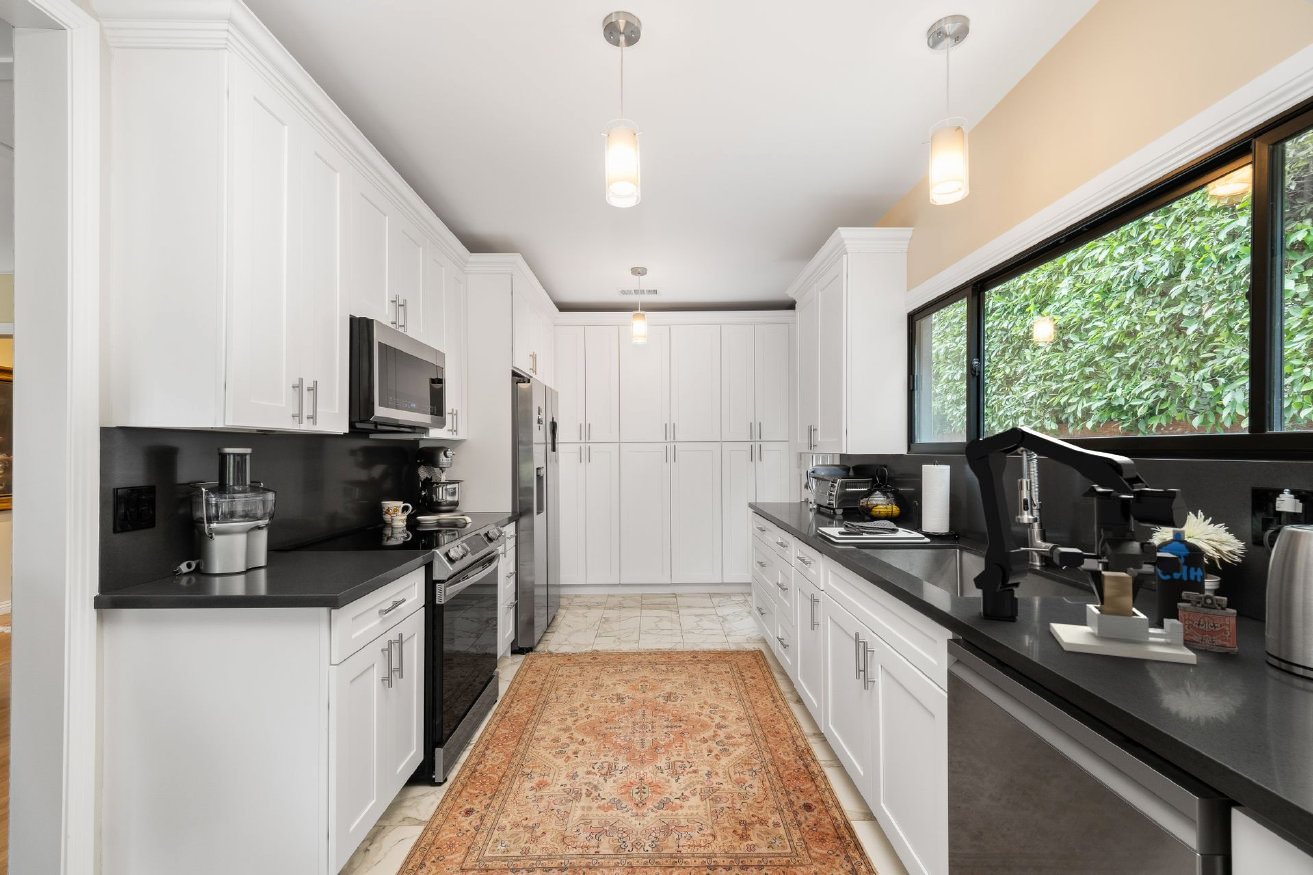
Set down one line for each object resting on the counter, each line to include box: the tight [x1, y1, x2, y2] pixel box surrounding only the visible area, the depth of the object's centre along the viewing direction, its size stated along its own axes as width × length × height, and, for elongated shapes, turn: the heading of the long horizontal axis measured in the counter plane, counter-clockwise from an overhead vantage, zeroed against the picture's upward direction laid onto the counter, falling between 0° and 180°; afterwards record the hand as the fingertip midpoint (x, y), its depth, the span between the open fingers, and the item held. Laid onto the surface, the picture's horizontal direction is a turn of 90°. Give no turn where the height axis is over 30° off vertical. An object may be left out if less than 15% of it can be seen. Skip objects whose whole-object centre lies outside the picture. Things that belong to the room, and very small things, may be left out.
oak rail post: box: [1099, 570, 1133, 616], centre depth 112 cm, size 4×4×8 cm
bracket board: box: [1049, 622, 1197, 665], centre depth 112 cm, size 19×13×2 cm
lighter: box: [1178, 592, 1239, 654], centre depth 111 cm, size 8×3×10 cm, turn 47°
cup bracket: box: [1086, 604, 1184, 646], centre depth 111 cm, size 13×8×5 cm, turn 67°
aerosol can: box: [1155, 528, 1207, 627], centre depth 124 cm, size 8×8×20 cm
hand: (1115, 605), depth 112 cm, fingers closed on oak rail post, 4 cm apart
